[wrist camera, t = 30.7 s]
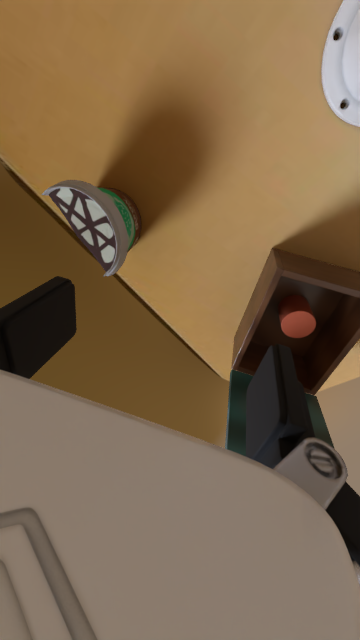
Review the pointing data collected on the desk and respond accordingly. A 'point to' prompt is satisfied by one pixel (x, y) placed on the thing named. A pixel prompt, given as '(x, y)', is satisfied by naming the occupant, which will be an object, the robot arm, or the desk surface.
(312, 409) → the sorter lid
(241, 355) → the box
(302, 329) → the cylinder piece
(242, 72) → the desk surface
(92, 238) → the food container
